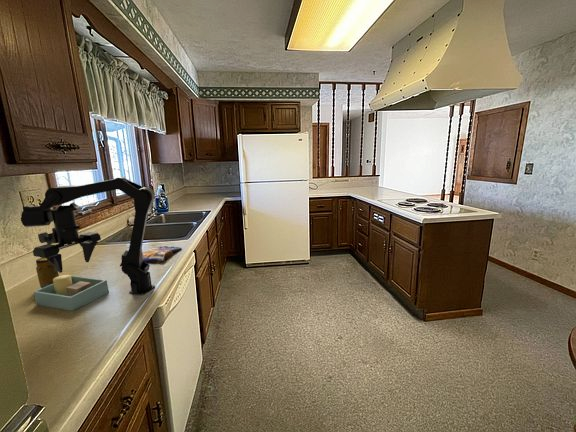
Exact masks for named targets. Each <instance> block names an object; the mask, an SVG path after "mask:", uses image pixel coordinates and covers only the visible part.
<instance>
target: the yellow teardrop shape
mask: <svg viewBox="0 0 576 432" xmlns="http://www.w3.org/2000/svg"><path fill="white" fill-rule="evenodd" d="M71 276H72V275H71V274H62V275H59V276H58V277H55V278H54V279H53V282H54V287H55V292H56V294H58V295H64V296H68V293H67V289H66V287H69V286H71V285H72V280H71Z"/></svg>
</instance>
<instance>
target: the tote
mask: <svg viewBox="0 0 576 432" xmlns="http://www.w3.org/2000/svg"><path fill="white" fill-rule="evenodd" d="M71 280H72V285H73V284H75V283H78V282H80V281H82V282H89V283H91V286H92V287H90V288H88V289H86V290H84V291H81V292H79V293H77V294H75V295H73V296H71V297H70V296H64V295H58V294H56V292H55V287H54V283H53V284H51V285H49V286H46V287H44V288H41V287H40V288H41V289H40V288H38V289H39V290H38V289H36V290H37V291H36V290H34V291H33V296H34V300H35V304H36V305H37V306H41V307H47V308H52V309H58V310H63V311H64V310H65V311H69V312H75V311H77V310H79V309H80V308H82V307H84V306H86V305H87V304H90V303H91V302H93V301H94V302H95V300H97V299H100V298H101V297H102V296H103V297H104V296H105V295H107V294H108V293H110V292H109V286H108V281H107V279H101V278H93V277H87V276H77V275H71Z"/></svg>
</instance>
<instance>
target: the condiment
mask: <svg viewBox="0 0 576 432" xmlns="http://www.w3.org/2000/svg"><path fill="white" fill-rule="evenodd" d="M35 262H36V263H35V265H36V268H35V270H36V274H37V277H38V283H39V287H40V288H37V289H36V290H35V291H37V290H39V289H41V288H44V287H46V286H49V285H51V284H53V283H54V282H53V279H54V278H55V277H58V276H60V275H59V274H60V273H59V272H58V271H57V269H56V268H55V267H54V266H53V264H52V263H51V262H50V261H49V260H48V259H46V258H41V257H39V258H37V259H36V260H35Z"/></svg>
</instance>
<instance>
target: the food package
mask: <svg viewBox="0 0 576 432" xmlns="http://www.w3.org/2000/svg"><path fill="white" fill-rule="evenodd" d="M182 250H183V248H182V247H180V246H179V247H178V246H168V245H167V246H166V245H165V246H157V247H154V248H153V247H152V248H150V249H147V250H145V251H142V254H143V261H144V262H146V263H148V264H149V263H157V264H160V263H162V262H164V261H166V260H169V259H170V258H172V256H173V255H174V254H177V253H178V252H180V251H182Z"/></svg>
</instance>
